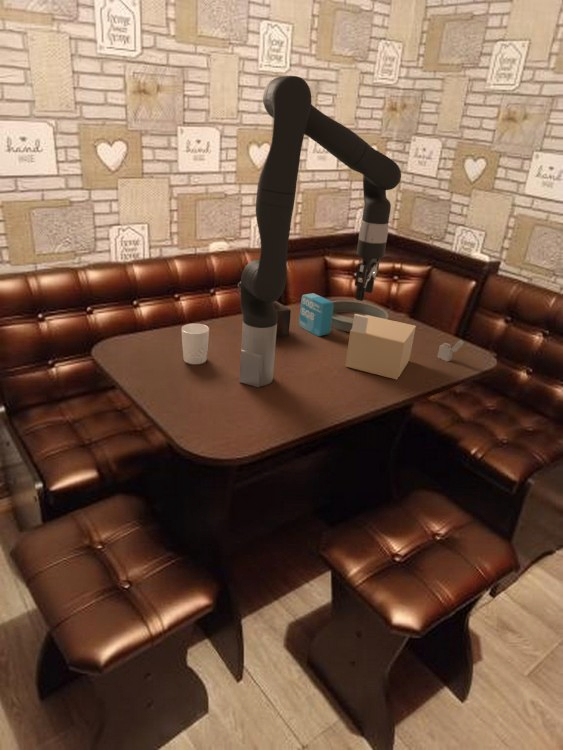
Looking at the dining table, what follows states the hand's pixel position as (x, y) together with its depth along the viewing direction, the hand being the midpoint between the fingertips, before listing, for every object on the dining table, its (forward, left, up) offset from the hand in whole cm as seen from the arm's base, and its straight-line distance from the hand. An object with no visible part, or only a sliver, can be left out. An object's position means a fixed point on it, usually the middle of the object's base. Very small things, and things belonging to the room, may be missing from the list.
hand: (364, 296), depth 153 cm
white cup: (-21, +42, -23) cm, 53 cm away
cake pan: (+39, +12, -24) cm, 47 cm away
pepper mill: (+9, +35, -23) cm, 43 cm away
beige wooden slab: (0, -6, -23) cm, 23 cm away
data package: (+22, +21, -23) cm, 38 cm away
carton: (+8, -6, -23) cm, 25 cm away
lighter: (+24, -25, -23) cm, 41 cm away
